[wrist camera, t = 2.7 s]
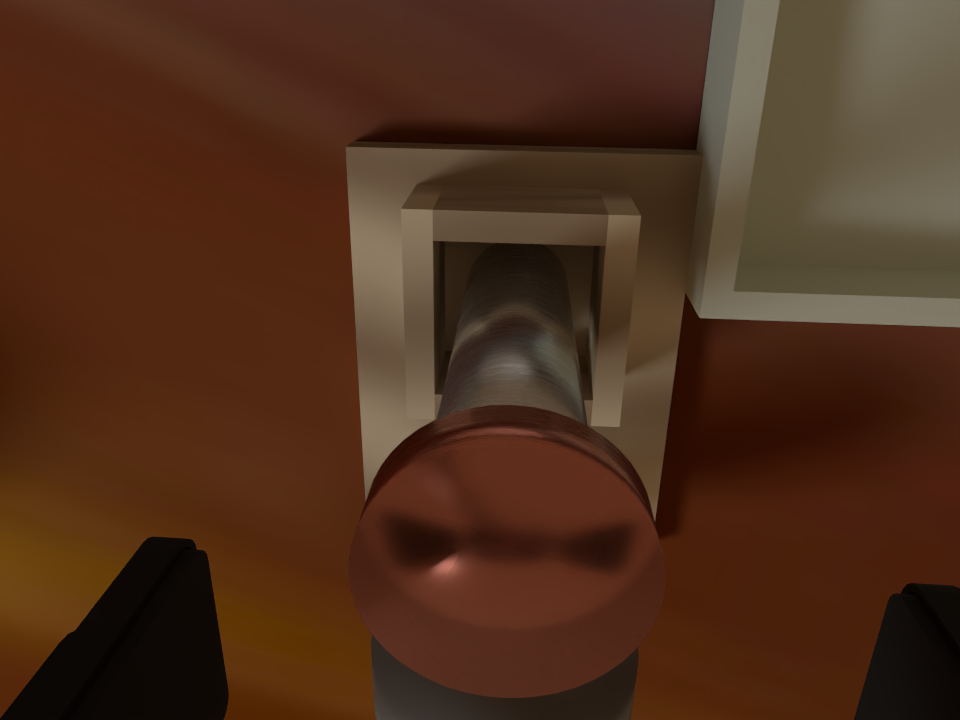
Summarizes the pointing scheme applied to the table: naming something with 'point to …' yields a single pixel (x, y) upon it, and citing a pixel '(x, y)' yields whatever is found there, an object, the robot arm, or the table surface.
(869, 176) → the tray
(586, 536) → the lock pin
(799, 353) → the table surface
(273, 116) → the table surface
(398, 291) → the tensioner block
